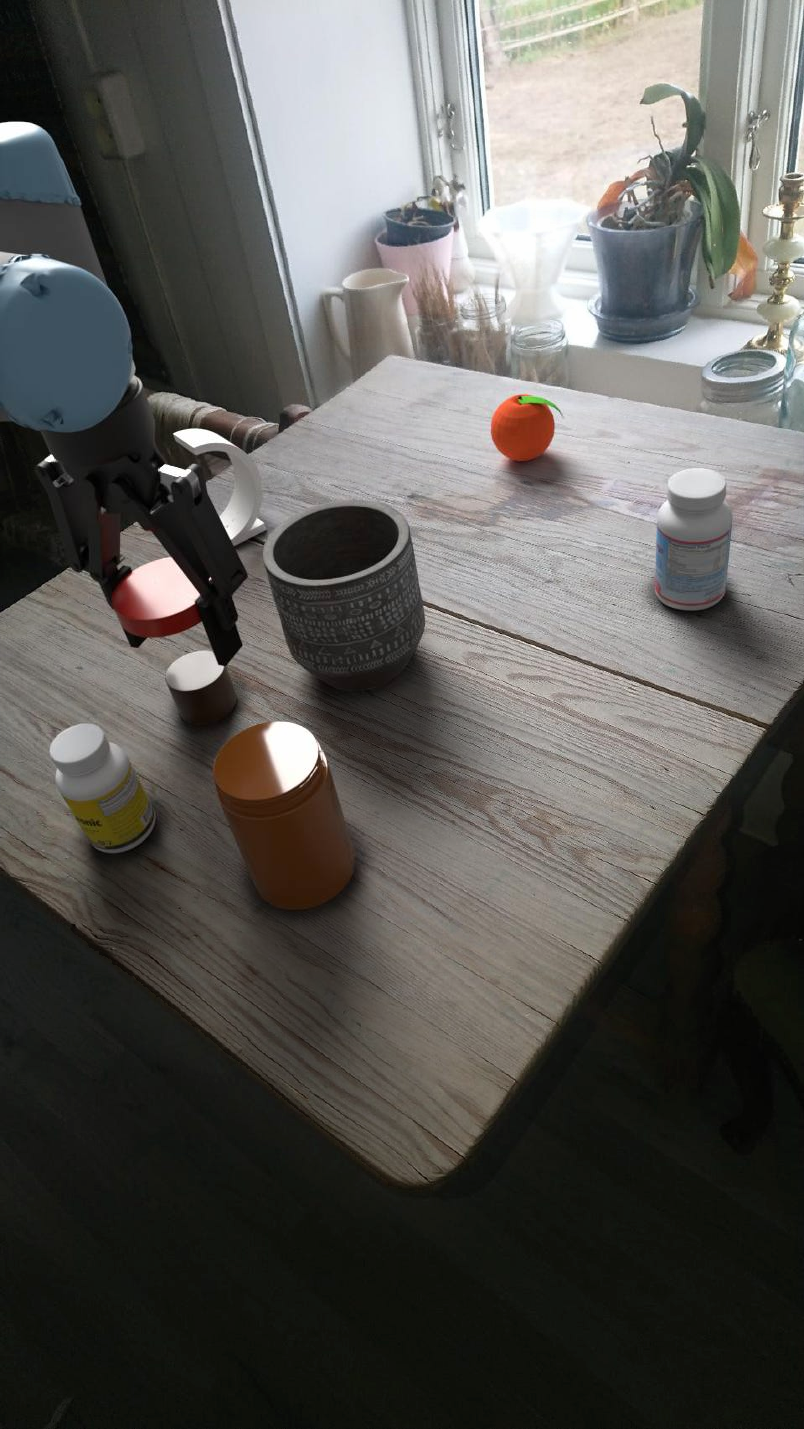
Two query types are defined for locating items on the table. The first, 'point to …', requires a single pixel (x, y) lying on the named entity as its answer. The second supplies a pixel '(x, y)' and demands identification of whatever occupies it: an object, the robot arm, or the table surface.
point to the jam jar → (285, 814)
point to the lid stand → (200, 688)
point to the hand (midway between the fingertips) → (186, 645)
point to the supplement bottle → (101, 789)
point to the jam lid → (156, 600)
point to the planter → (347, 591)
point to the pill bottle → (693, 540)
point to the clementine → (523, 427)
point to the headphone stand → (246, 487)
